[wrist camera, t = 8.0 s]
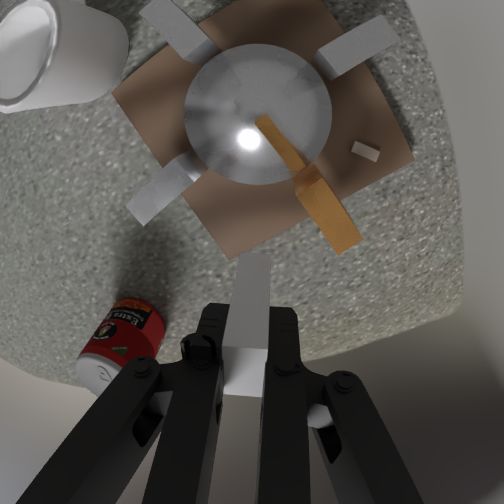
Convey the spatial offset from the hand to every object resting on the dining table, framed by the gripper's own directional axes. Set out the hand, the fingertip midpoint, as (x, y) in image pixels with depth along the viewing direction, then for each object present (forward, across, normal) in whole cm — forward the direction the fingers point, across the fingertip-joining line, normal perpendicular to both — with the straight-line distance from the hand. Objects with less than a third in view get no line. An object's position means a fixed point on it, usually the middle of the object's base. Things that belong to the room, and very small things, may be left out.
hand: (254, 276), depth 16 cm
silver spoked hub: (+10, -1, +8) cm, 13 cm away
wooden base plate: (+14, 0, +8) cm, 16 cm away
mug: (+15, -18, +16) cm, 29 cm away
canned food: (+14, -15, -17) cm, 27 cm away
